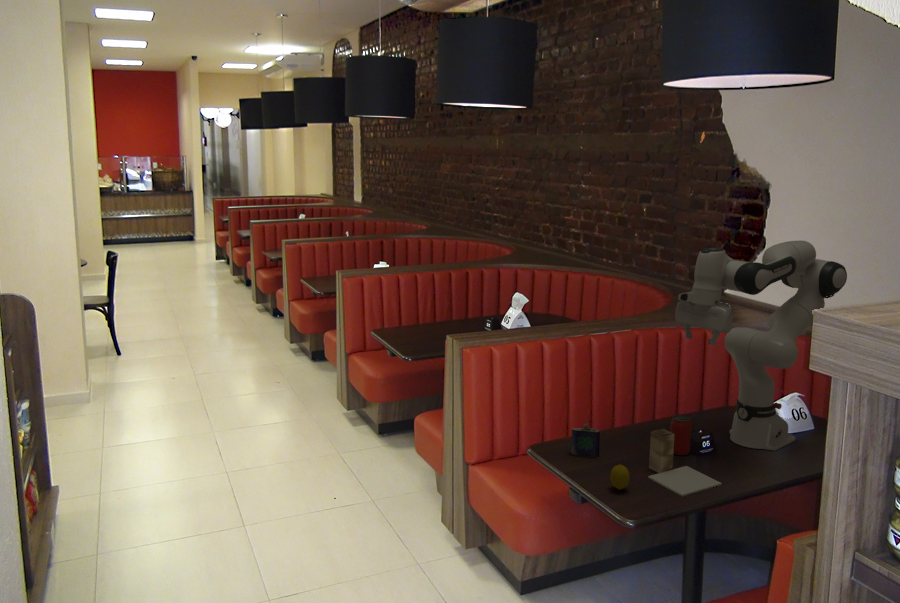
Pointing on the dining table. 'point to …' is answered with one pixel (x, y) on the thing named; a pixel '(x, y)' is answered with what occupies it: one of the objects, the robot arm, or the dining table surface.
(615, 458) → the dining table surface
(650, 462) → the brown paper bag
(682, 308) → the robot arm
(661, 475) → the grey mat
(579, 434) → the flask
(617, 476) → the lemon
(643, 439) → the dining table surface
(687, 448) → the beer can
